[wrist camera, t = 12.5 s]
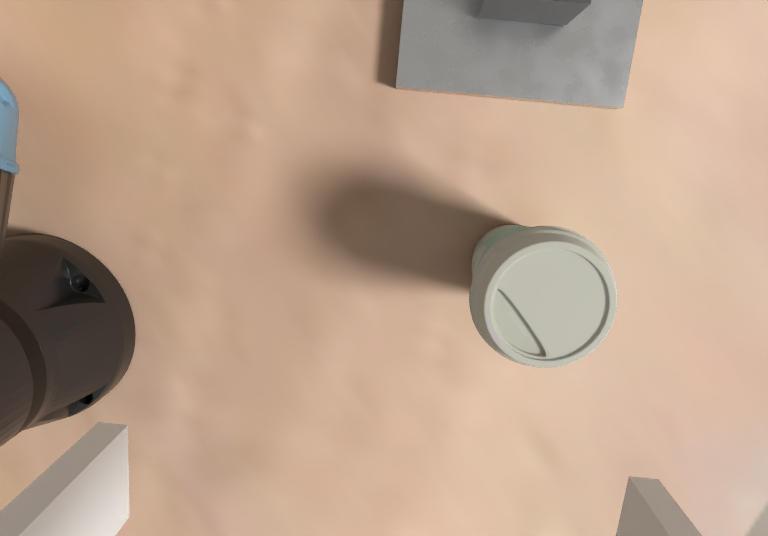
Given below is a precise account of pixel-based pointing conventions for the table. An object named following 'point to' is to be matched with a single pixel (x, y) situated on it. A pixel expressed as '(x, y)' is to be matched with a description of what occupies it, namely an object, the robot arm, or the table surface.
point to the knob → (532, 10)
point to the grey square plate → (519, 53)
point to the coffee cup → (541, 294)
